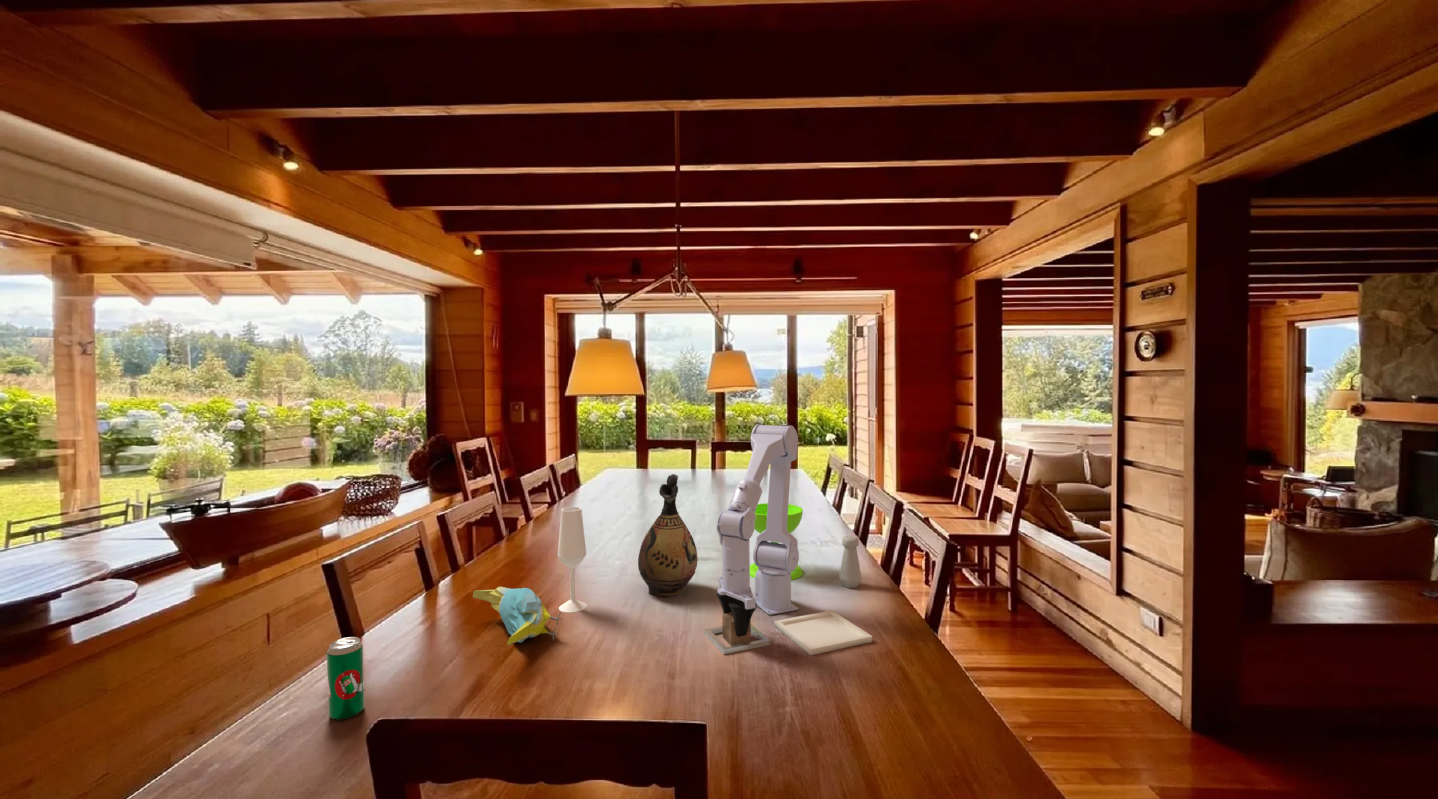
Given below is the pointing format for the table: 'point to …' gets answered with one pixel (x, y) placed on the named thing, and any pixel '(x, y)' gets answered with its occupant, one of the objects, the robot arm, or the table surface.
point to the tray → (822, 632)
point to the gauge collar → (740, 647)
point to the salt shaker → (850, 563)
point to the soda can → (345, 678)
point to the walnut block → (733, 631)
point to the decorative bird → (518, 611)
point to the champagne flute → (571, 551)
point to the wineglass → (792, 524)
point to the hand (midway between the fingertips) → (736, 630)
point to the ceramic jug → (668, 548)
